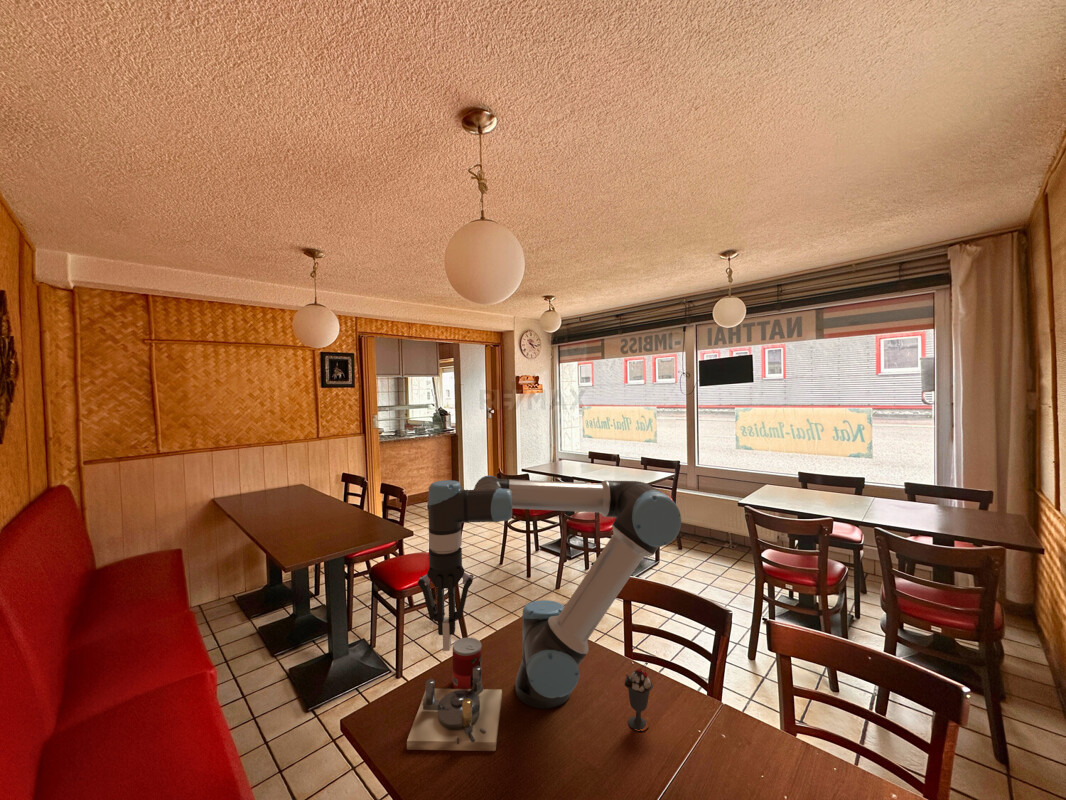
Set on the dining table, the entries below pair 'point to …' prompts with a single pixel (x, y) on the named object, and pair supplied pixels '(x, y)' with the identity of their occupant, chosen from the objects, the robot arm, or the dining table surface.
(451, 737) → the stand
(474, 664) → the canned food
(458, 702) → the cam capstan
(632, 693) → the sundae
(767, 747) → the dining table surface
